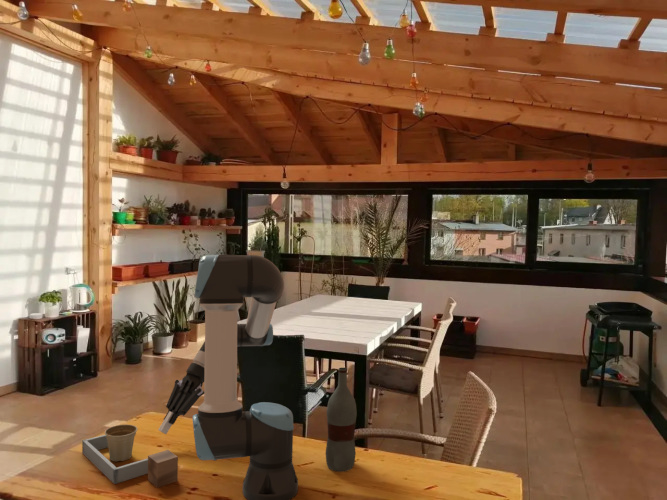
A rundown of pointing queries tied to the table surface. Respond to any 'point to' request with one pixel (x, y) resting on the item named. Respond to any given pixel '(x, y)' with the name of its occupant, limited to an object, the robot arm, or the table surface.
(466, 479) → the table surface
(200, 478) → the table surface
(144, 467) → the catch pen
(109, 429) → the flower pot
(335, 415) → the bottle
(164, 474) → the walnut block
